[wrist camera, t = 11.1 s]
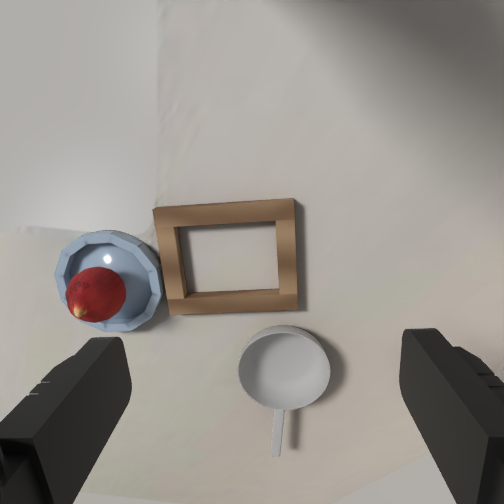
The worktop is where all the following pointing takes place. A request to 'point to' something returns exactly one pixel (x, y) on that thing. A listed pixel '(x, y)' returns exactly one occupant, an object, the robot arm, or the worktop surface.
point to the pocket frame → (224, 214)
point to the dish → (122, 262)
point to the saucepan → (283, 373)
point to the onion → (95, 294)
